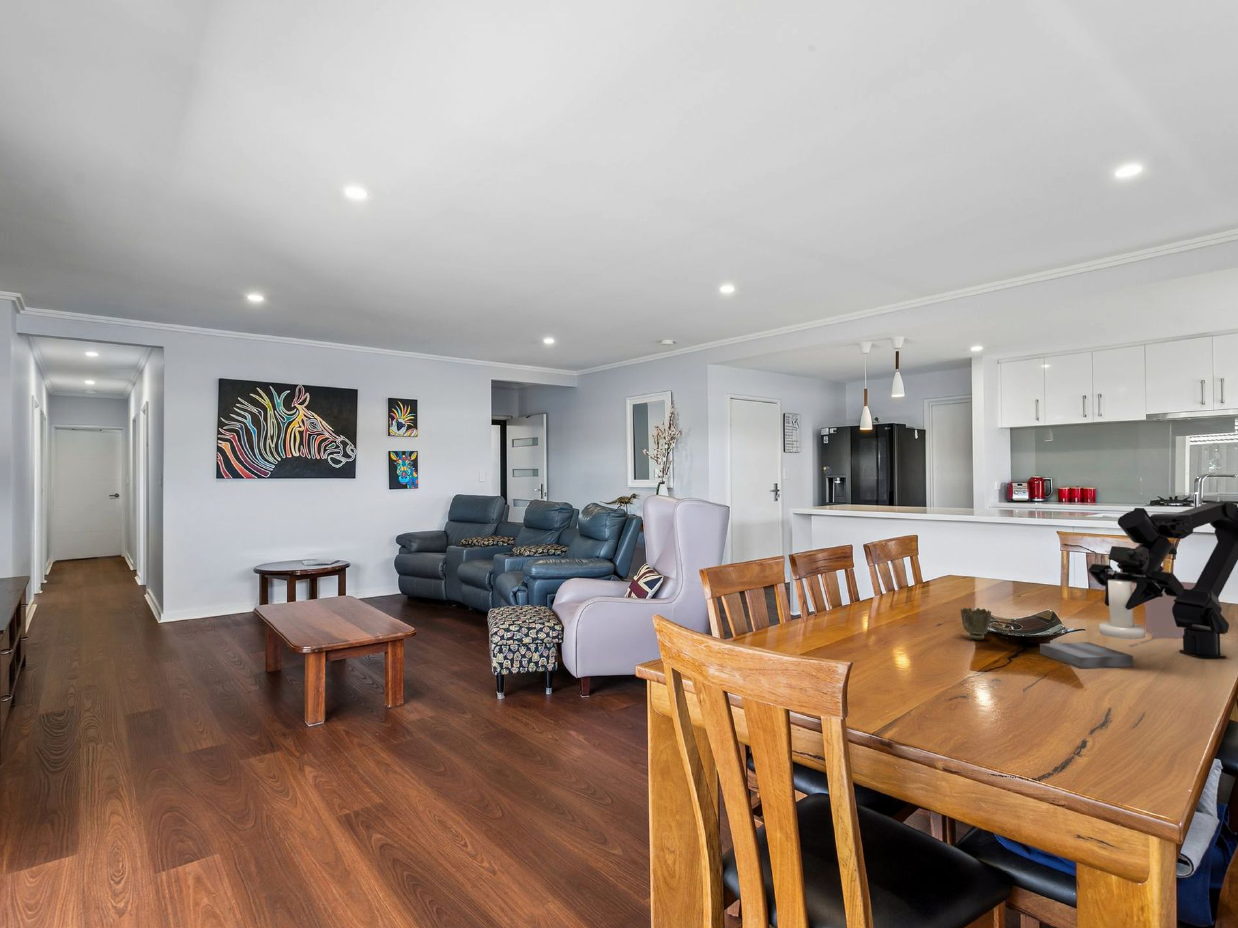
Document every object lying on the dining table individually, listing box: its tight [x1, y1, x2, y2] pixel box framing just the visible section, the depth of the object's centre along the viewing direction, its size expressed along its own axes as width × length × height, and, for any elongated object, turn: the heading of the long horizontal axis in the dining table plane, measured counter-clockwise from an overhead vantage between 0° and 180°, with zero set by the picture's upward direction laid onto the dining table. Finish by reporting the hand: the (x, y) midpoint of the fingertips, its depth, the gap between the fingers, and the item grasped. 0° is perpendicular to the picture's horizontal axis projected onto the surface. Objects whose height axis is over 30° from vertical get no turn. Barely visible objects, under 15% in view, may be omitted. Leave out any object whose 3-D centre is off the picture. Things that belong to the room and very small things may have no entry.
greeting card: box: [1144, 581, 1196, 639], centre depth 182 cm, size 11×7×15 cm, turn 46°
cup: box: [960, 607, 992, 641], centre depth 182 cm, size 8×7×8 cm
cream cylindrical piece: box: [1099, 579, 1146, 640], centre depth 156 cm, size 8×8×12 cm
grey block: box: [1039, 641, 1134, 669], centre depth 161 cm, size 13×13×2 cm
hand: (1116, 606), depth 156 cm, fingers closed on cream cylindrical piece, 4 cm apart
